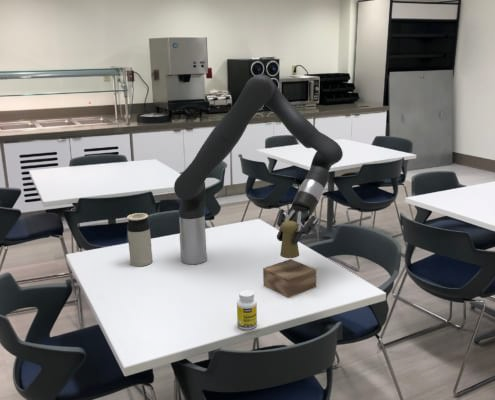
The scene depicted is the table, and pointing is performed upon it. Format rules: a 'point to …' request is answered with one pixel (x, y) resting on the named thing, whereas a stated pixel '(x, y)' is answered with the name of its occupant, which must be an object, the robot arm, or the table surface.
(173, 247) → the table surface
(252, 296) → the supplement bottle
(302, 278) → the walnut riser
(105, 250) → the table surface
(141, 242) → the travel mug
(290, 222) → the cork
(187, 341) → the table surface
